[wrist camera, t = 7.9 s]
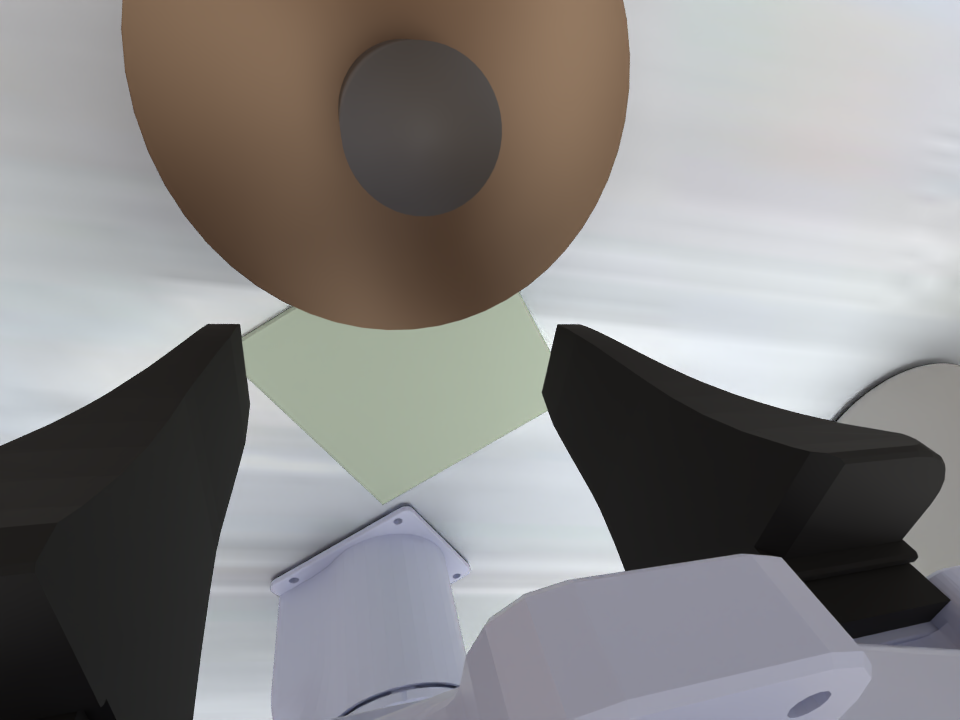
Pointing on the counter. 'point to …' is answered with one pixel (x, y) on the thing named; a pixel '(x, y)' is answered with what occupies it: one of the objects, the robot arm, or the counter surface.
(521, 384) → the sage mat
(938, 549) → the cylinder vase
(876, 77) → the counter surface
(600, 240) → the counter surface
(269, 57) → the walnut lid
